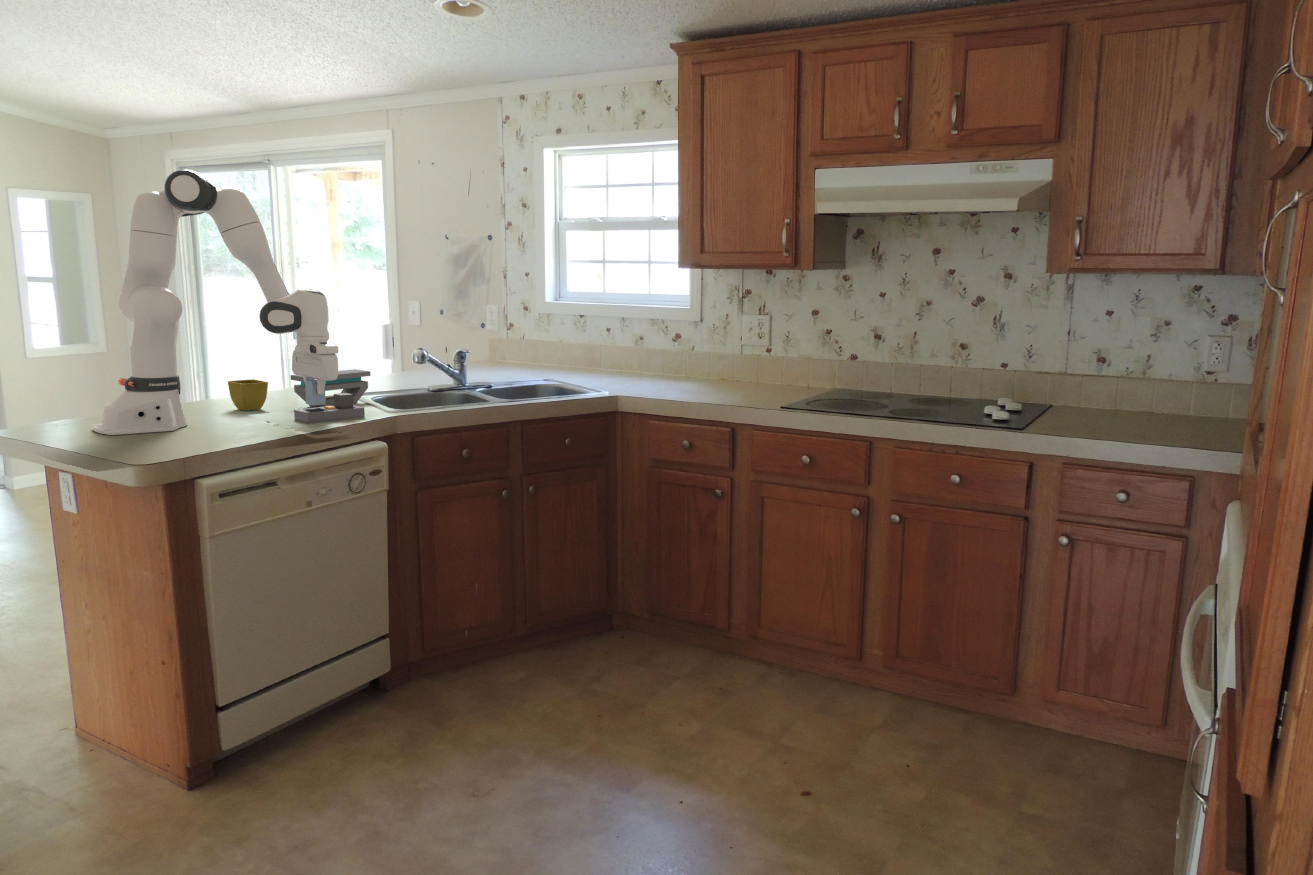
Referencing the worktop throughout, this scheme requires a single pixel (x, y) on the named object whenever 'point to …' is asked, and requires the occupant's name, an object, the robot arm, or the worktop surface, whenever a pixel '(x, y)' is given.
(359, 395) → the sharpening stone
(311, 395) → the plug
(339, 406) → the twin plug
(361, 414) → the strip
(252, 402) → the flower pot
